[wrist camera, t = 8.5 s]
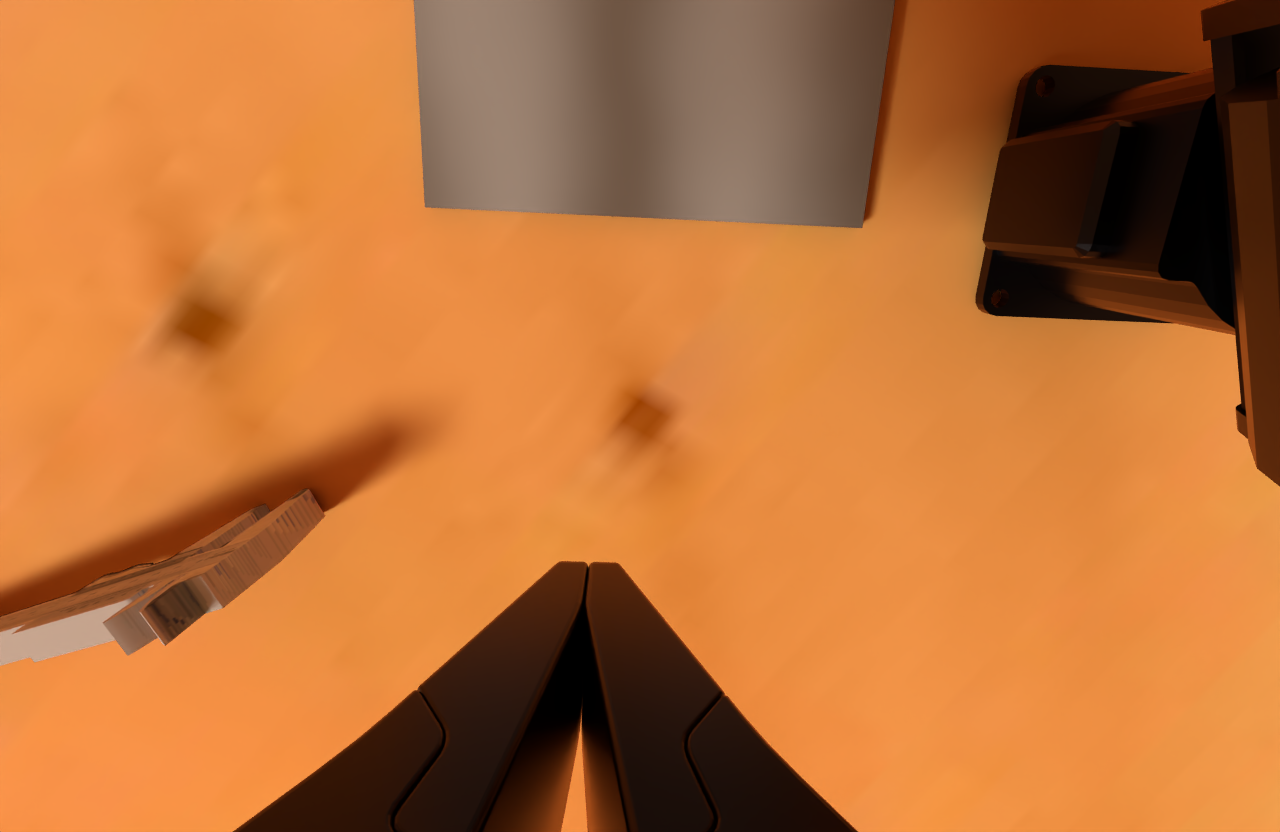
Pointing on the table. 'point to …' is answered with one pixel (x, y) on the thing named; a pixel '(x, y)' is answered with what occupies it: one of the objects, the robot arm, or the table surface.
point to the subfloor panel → (652, 107)
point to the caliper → (162, 588)
